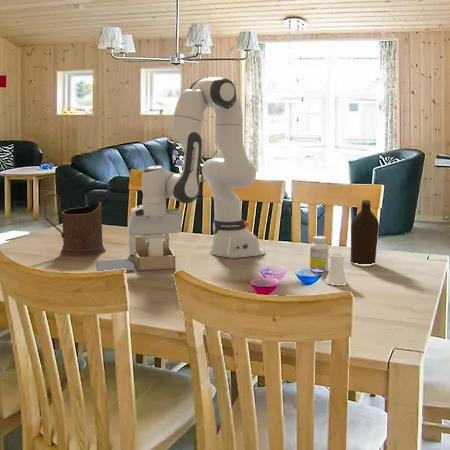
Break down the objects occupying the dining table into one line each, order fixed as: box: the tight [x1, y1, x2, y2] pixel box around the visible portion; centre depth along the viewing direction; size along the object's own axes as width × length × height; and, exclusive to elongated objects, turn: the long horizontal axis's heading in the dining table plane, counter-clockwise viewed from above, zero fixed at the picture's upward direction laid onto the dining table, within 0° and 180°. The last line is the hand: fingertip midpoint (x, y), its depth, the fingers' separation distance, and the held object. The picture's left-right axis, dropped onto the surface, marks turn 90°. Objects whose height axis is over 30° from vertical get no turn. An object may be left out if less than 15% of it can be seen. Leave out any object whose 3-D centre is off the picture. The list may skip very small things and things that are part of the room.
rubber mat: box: [96, 258, 135, 273], centre depth 229 cm, size 13×16×1 cm
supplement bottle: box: [309, 235, 329, 272], centre depth 226 cm, size 7×7×13 cm
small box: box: [128, 233, 147, 256], centre depth 250 cm, size 8×6×10 cm
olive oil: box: [350, 199, 380, 264], centre depth 236 cm, size 11×11×25 cm
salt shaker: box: [324, 253, 348, 284], centre depth 211 cm, size 8×8×10 cm
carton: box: [134, 235, 176, 272], centre depth 232 cm, size 14×13×10 cm
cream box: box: [147, 233, 164, 257], centre depth 232 cm, size 5×7×9 cm
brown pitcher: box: [43, 193, 107, 258], centre depth 249 cm, size 18×24×25 cm
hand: (155, 245), depth 232 cm, fingers closed on cream box, 5 cm apart
